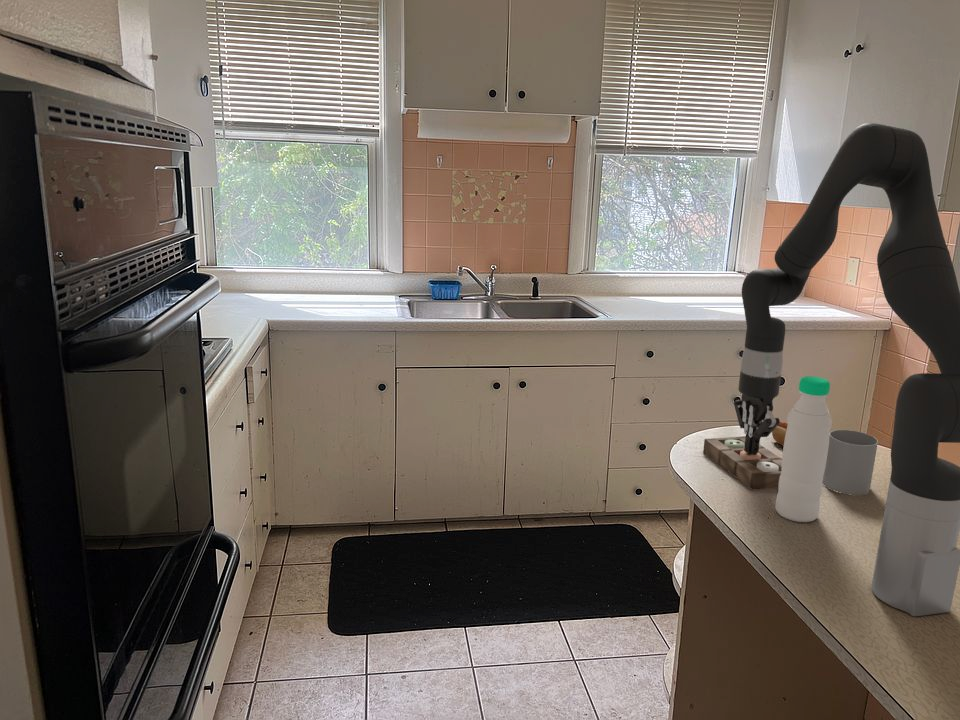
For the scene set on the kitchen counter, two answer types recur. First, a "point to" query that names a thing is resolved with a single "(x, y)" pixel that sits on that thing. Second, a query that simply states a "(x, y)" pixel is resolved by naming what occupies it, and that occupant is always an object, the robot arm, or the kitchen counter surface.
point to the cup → (850, 462)
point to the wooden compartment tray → (744, 463)
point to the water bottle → (805, 452)
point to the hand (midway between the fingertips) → (750, 452)
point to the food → (780, 433)
